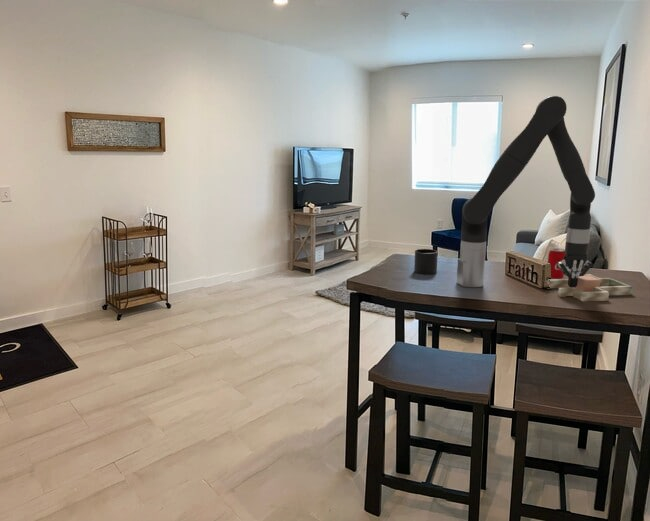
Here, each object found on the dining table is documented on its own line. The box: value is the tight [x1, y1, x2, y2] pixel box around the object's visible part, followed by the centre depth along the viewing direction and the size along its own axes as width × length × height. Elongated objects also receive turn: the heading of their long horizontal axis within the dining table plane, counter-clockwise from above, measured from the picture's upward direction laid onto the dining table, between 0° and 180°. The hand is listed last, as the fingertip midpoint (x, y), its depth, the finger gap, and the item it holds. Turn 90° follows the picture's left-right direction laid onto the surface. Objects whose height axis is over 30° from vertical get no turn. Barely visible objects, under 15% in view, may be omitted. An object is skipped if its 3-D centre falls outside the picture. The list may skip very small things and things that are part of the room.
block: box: [576, 276, 600, 292], centre depth 182 cm, size 6×6×5 cm
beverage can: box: [547, 247, 565, 280], centre depth 199 cm, size 6×6×12 cm
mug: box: [413, 248, 439, 275], centre depth 212 cm, size 9×12×9 cm
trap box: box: [549, 274, 634, 302], centre depth 182 cm, size 27×24×3 cm
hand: (572, 287), depth 181 cm, fingers closed
